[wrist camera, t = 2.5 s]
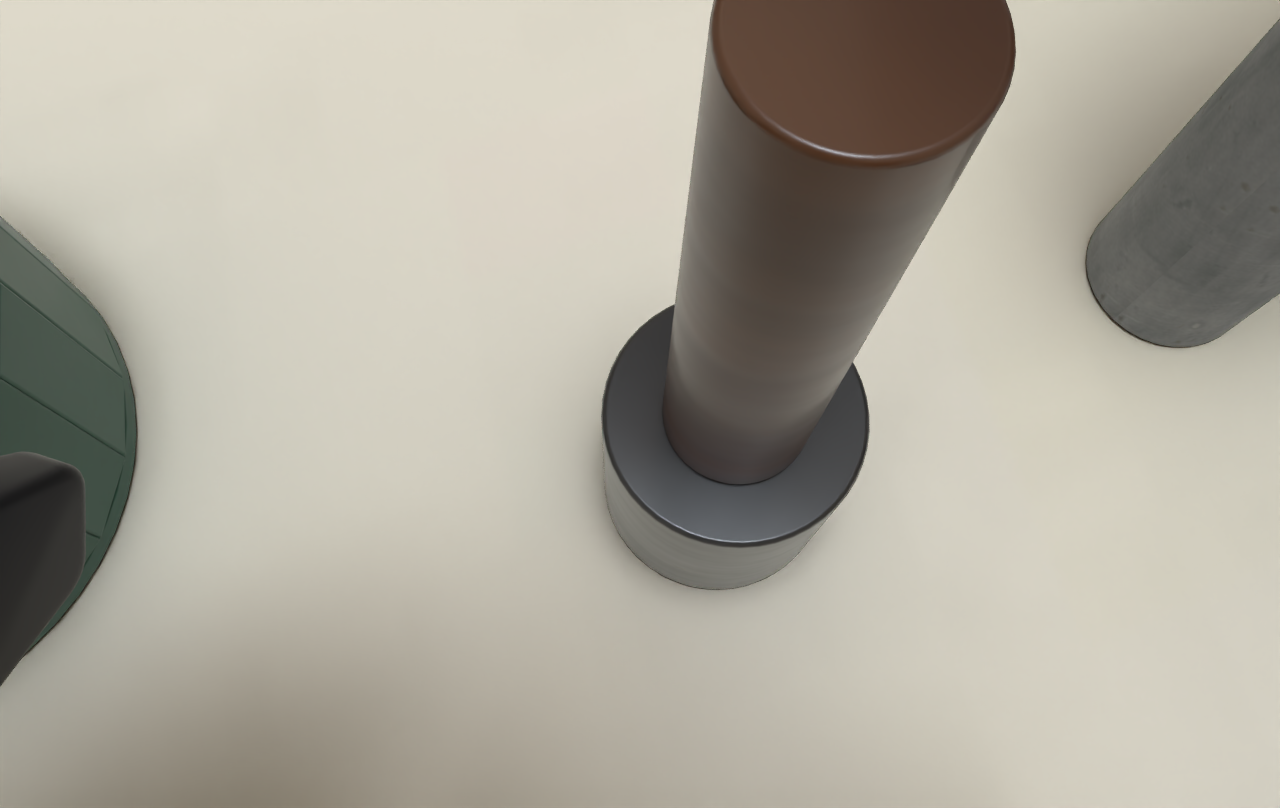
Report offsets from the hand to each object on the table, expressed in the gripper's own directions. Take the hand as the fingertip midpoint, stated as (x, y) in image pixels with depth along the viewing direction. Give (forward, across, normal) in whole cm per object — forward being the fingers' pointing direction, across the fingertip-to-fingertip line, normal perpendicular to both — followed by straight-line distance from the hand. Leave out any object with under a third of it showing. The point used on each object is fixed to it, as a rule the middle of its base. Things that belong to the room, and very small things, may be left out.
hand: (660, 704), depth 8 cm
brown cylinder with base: (+12, 0, +5) cm, 12 cm away
